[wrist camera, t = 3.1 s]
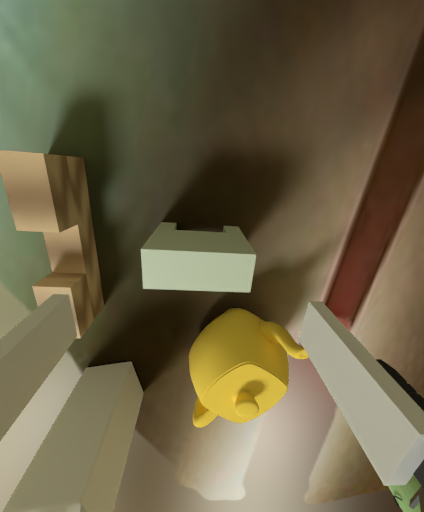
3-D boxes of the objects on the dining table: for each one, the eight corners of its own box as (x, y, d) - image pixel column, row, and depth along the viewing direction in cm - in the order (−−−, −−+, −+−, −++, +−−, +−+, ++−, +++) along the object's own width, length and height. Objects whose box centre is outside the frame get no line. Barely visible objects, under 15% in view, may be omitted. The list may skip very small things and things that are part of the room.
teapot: (252, 267, 27) (281, 322, 18) (306, 312, 31) (357, 380, 21) (168, 351, 32) (153, 432, 22) (222, 382, 35) (231, 466, 25)
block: (161, 222, 25) (140, 249, 16) (238, 226, 25) (256, 254, 17) (161, 250, 26) (143, 288, 18) (234, 253, 27) (250, 292, 18)
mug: (353, 439, 43) (406, 533, 32) (403, 414, 41) (478, 507, 30) (379, 463, 47) (435, 554, 36) (425, 442, 45) (500, 533, 33)
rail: (47, 154, 22) (-6, 149, 16) (83, 157, 22) (43, 153, 16) (76, 304, 28) (46, 337, 23) (104, 305, 29) (80, 338, 23)
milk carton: (144, 391, 35) (87, 614, 18) (101, 397, 35) (2, 626, 18) (132, 360, 32) (49, 586, 15) (86, 366, 32) (-51, 599, 15)
